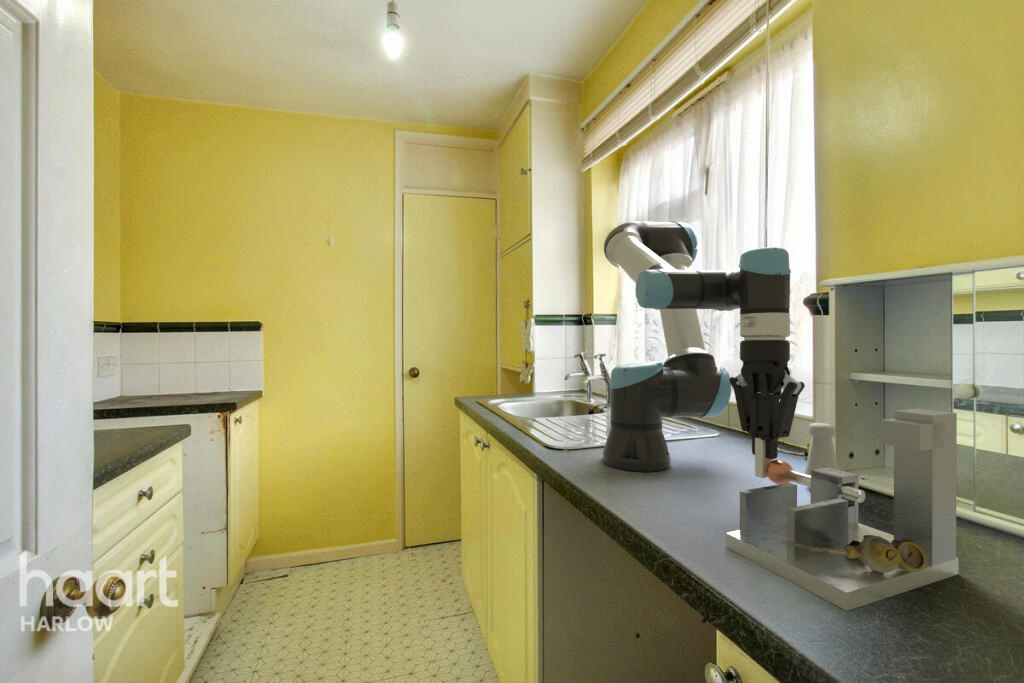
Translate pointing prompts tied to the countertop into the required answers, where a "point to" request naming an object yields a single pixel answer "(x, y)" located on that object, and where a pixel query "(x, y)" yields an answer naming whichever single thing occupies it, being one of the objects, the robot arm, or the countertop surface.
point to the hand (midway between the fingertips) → (764, 475)
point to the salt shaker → (821, 448)
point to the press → (834, 520)
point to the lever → (805, 479)
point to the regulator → (879, 553)
